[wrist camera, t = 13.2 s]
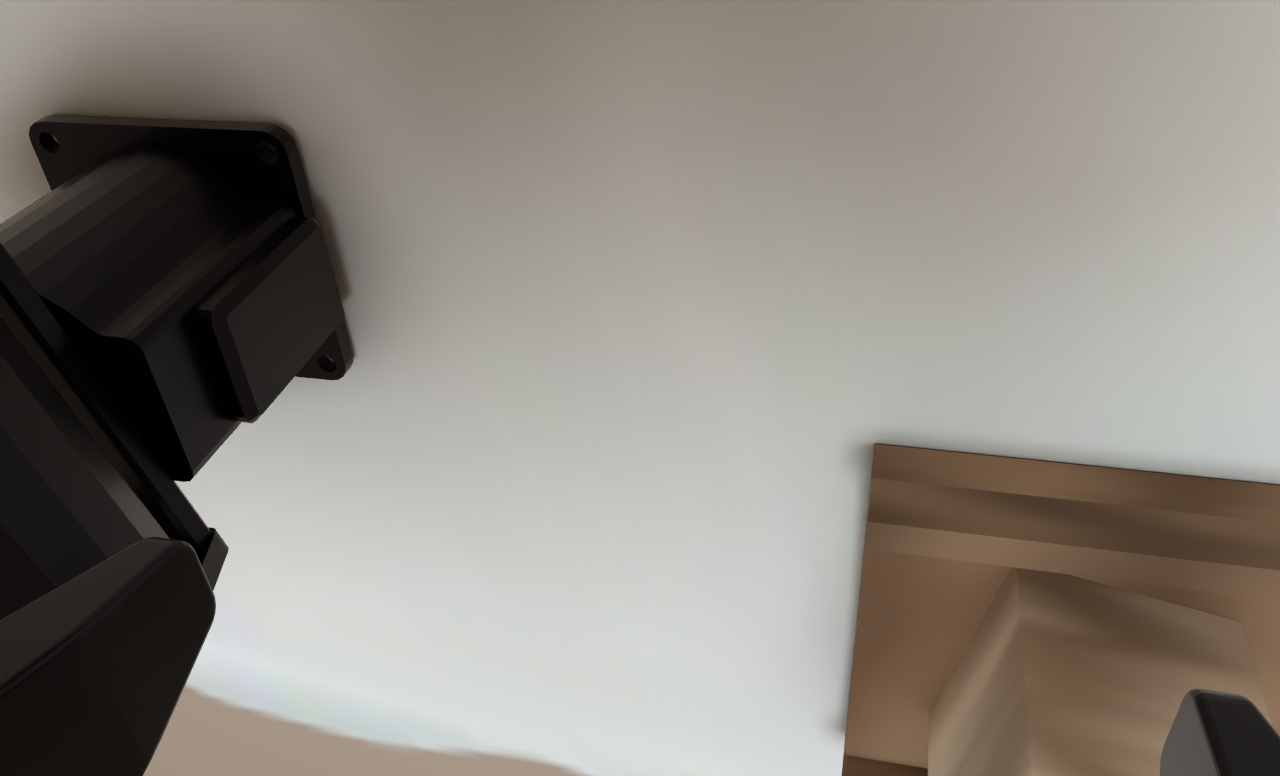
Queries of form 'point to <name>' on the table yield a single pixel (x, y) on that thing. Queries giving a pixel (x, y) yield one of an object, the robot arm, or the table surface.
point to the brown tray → (1037, 540)
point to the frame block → (1079, 680)
